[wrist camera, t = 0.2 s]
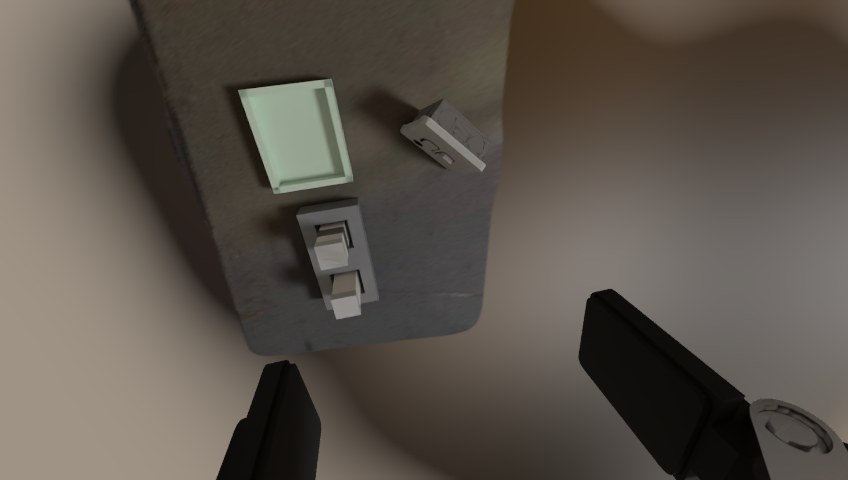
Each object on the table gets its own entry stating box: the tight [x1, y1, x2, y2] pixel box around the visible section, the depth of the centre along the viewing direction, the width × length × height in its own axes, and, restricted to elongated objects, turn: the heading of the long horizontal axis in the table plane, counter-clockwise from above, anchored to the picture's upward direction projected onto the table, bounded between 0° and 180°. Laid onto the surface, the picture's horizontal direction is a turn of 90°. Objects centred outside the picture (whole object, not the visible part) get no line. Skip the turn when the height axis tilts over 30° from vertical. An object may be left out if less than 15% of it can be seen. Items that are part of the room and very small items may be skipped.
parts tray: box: [238, 79, 353, 194], centre depth 38 cm, size 12×10×2 cm
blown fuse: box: [314, 220, 350, 270], centre depth 42 cm, size 3×3×8 cm
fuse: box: [331, 269, 361, 319], centre depth 45 cm, size 3×3×8 cm
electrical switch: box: [400, 99, 492, 172], centre depth 38 cm, size 9×5×9 cm, turn 52°
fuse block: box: [296, 198, 379, 310], centre depth 46 cm, size 16×8×3 cm, turn 6°
